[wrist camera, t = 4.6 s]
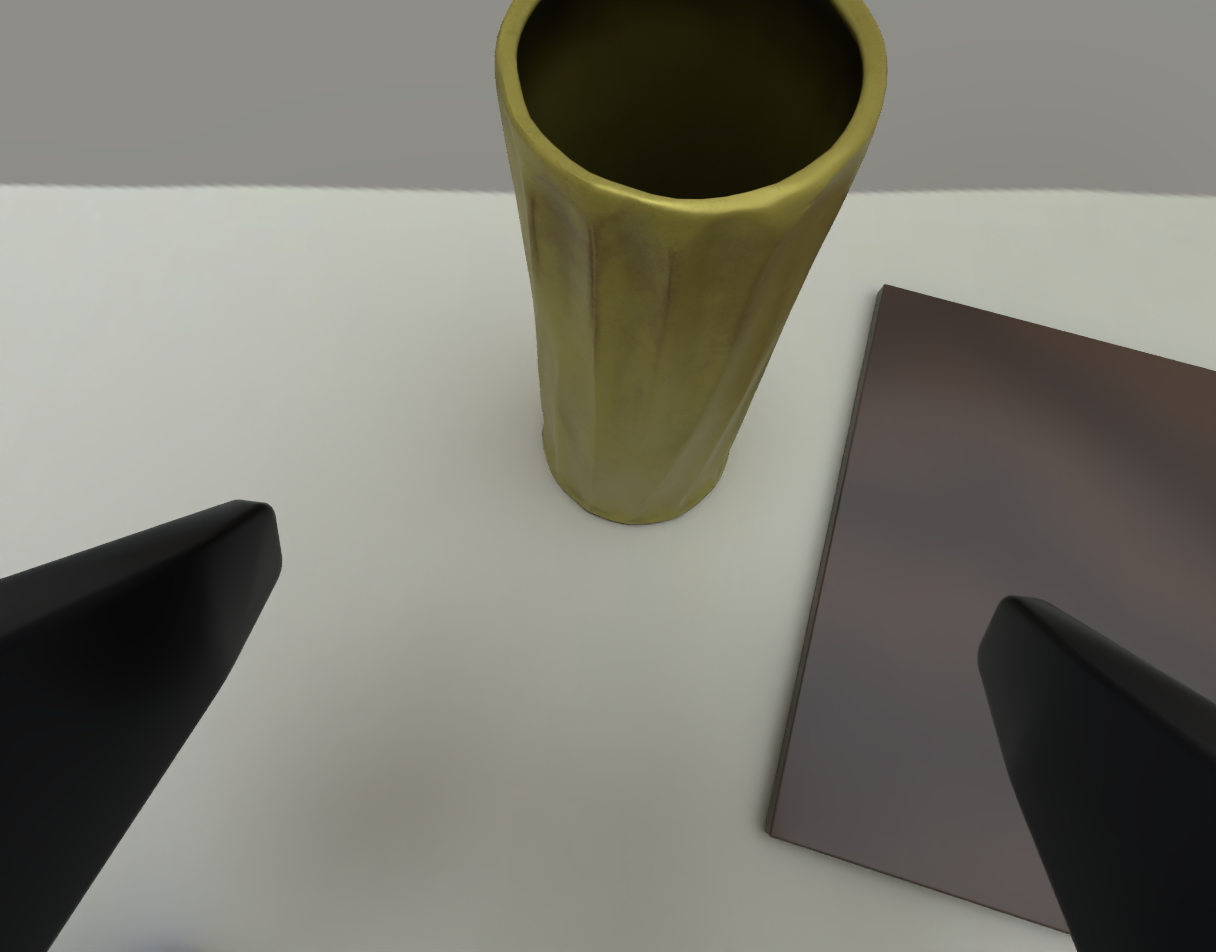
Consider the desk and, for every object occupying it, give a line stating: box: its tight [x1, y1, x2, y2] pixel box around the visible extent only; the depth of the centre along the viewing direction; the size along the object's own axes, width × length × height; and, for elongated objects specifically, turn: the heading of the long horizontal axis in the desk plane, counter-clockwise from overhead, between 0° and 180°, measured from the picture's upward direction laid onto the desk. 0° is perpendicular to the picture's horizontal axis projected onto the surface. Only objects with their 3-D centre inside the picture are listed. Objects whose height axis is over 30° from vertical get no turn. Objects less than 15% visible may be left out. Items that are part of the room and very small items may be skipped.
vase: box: [495, 0, 887, 524], centre depth 16 cm, size 6×6×14 cm
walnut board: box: [765, 284, 1216, 934], centre depth 21 cm, size 18×12×1 cm, turn 163°
